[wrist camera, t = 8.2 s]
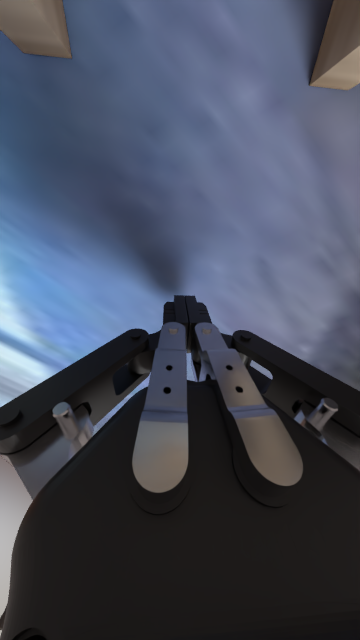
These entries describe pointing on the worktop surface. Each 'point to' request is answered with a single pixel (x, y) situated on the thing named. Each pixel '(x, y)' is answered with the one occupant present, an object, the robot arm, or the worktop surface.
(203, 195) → the worktop surface
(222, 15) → the worktop surface
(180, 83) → the worktop surface
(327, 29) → the bridge
